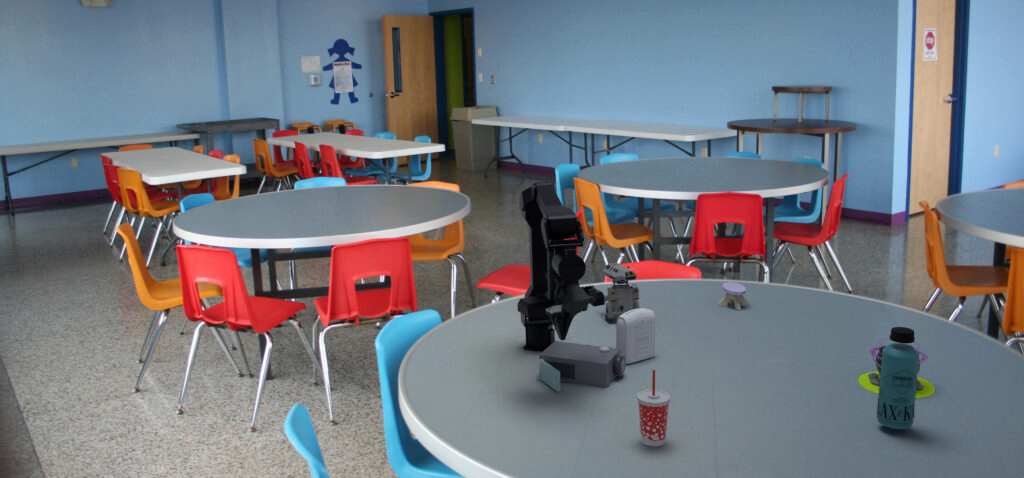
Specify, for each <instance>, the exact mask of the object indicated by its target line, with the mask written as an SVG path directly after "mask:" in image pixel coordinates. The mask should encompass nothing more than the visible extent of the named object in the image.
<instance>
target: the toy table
mask: <svg viewBox="0 0 1024 478" xmlns="http://www.w3.org/2000/svg"><path fill="white" fill-rule="evenodd" d="M721 290H722V291H723V292H725V295H724V297H723V298H722V299H720V300H719V301H718V303H717V306H718V307H719V308H722V307H725V308H726V307H728V305H730V304H731V305H732V304H734V309H736V310H737V311H741V310H742V308H741V306H742V307H743V306H744V307H745V306H747V307H748V306H750V305H751V303H750V301H749V300H747V298H745V297H744V295H745V294H747V287H746V286H745V285H743V284H741V283H737V282H731V281H730V282H729V281H727V282H724V283H722V285H721Z"/></svg>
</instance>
